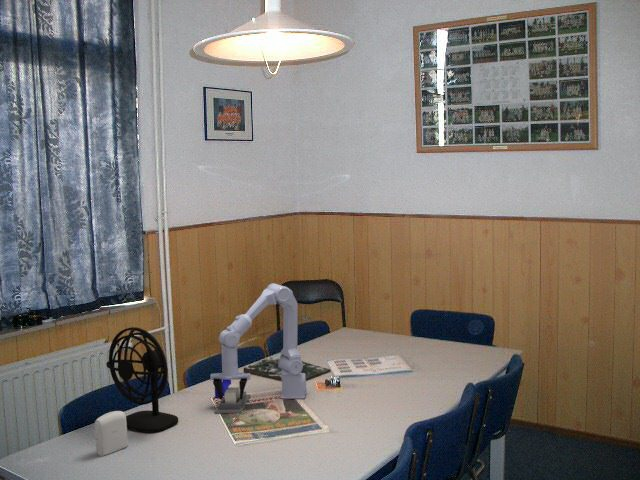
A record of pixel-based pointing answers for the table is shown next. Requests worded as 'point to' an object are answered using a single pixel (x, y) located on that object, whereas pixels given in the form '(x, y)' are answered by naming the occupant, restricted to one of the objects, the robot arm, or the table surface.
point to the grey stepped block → (233, 407)
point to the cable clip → (223, 388)
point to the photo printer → (111, 432)
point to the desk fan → (151, 363)
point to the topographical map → (273, 371)
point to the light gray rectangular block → (231, 396)
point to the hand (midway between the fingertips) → (231, 398)
